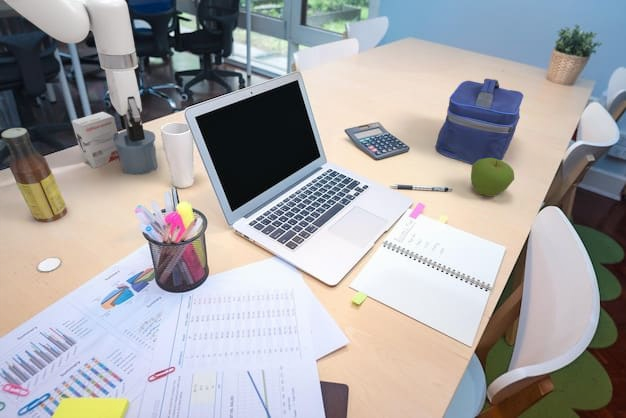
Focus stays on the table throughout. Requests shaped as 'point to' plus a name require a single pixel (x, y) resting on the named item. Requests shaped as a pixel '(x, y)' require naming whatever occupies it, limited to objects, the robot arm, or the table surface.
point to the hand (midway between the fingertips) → (133, 133)
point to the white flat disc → (49, 264)
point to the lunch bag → (479, 121)
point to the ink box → (96, 138)
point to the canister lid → (125, 142)
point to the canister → (138, 159)
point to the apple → (491, 176)
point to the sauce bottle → (34, 177)
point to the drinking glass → (179, 153)
